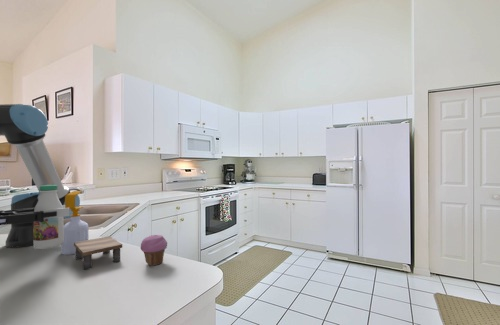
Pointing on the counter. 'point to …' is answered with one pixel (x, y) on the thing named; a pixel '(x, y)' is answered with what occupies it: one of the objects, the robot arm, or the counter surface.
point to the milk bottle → (48, 220)
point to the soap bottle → (73, 226)
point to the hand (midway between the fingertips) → (66, 210)
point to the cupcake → (154, 249)
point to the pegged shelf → (96, 249)
